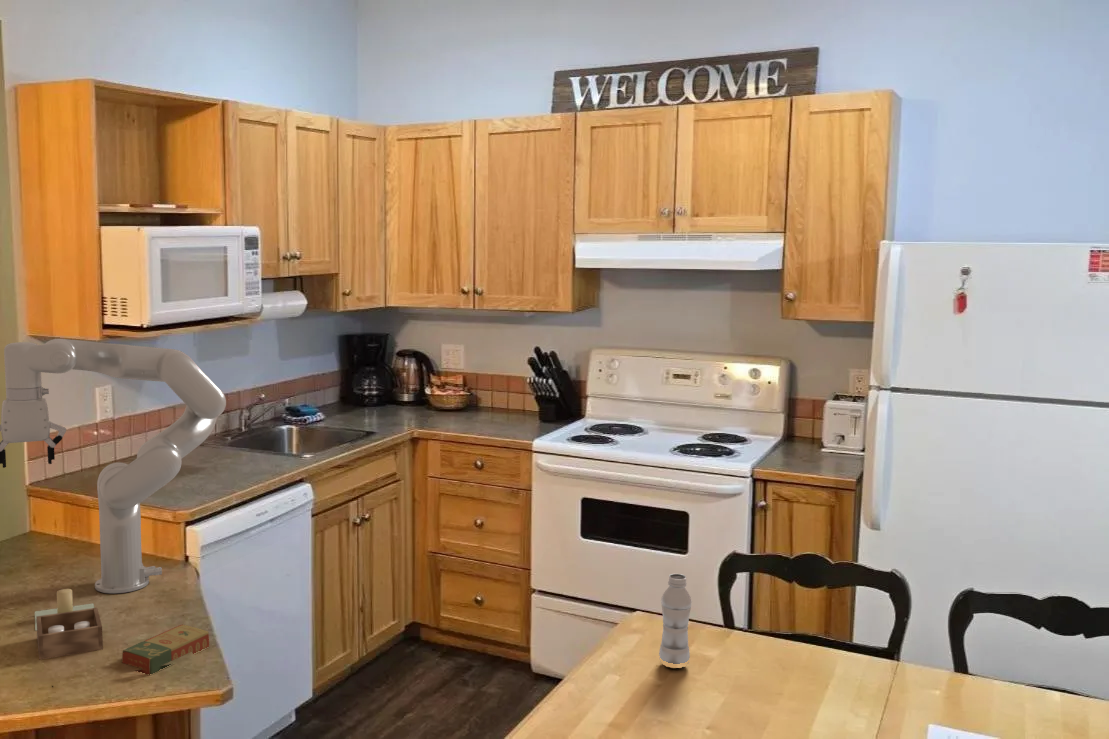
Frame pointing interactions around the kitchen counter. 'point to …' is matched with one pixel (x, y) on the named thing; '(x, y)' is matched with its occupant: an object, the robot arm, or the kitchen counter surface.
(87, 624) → the shaker
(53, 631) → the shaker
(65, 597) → the lid
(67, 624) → the tea box
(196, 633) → the carton
